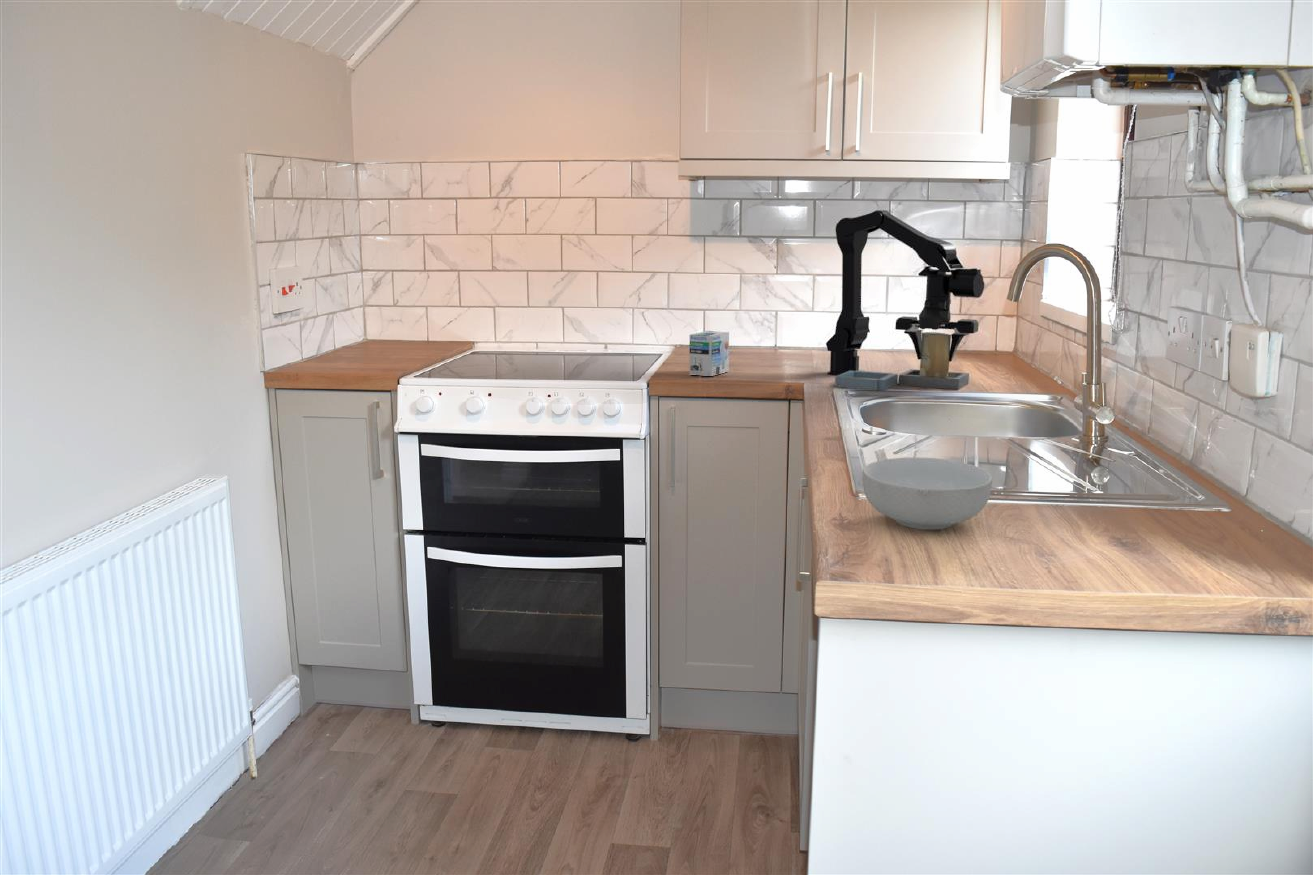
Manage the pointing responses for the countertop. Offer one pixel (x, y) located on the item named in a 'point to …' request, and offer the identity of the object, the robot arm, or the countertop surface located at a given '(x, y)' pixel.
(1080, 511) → the countertop surface
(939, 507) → the cereal bowl
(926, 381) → the metal collar
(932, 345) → the skincare box
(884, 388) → the slate tray
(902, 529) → the countertop surface
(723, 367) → the light bulb box
